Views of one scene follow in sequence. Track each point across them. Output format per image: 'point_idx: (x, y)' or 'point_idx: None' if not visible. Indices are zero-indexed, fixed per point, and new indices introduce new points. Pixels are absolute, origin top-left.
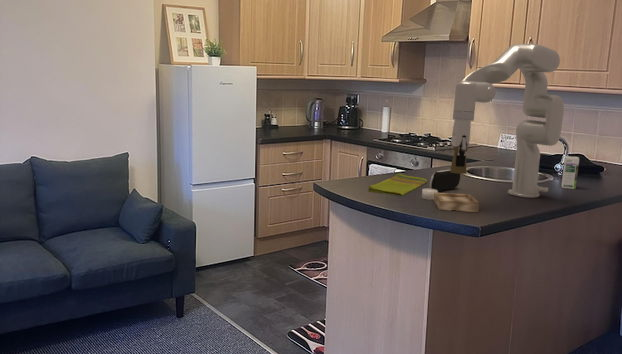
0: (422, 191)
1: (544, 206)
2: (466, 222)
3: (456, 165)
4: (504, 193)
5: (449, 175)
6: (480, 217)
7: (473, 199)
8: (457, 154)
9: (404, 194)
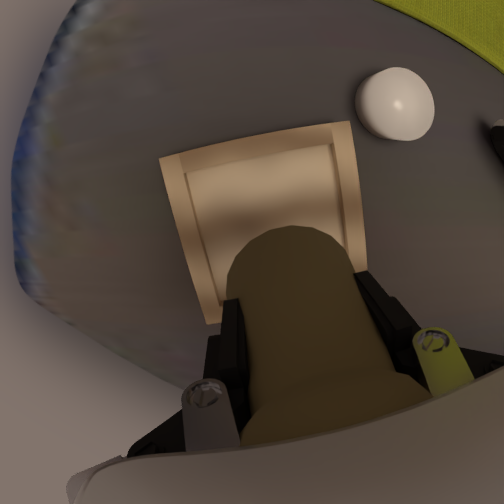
0: (388, 69)
1: None
2: (48, 265)
3: (224, 307)
4: (496, 350)
5: None
6: (133, 309)
7: None
8: (219, 387)
9: (400, 11)
